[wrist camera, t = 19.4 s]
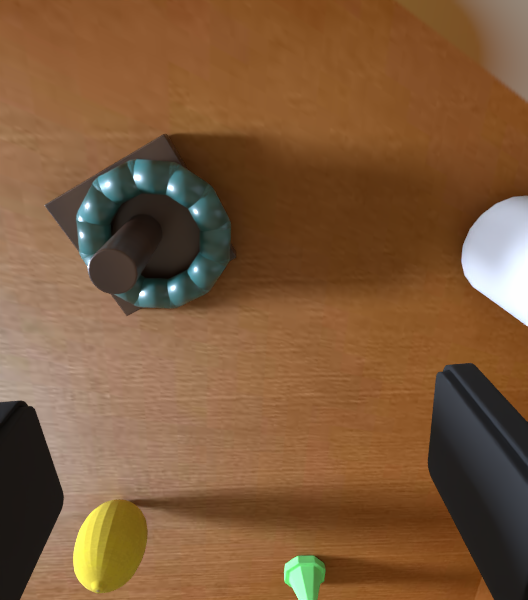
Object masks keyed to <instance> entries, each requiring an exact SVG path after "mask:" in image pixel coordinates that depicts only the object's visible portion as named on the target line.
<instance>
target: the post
mask: <svg viewBox="0 0 528 600" xmlns="http://www.w3.org/2000/svg"><path fill="white" fill-rule="evenodd" d="M132 159H143V160H157V161H171V162H176V163H178V164H180V165H181V166H183V167H184V168H186V169H187V167H186V166H185V164H184V162H183V160H182V159H181V157H180V155H179V154H178V152H177V150H176V149H175V147H174V145H173V143H172V142H171V140H170V138H169V137H168V135H167V134H163V135H161V136H160V137H158V138H156V139H155V140H153V141H151V142H150V143H148V144H146V145H144V146H143V147H141V148H139V149H138V150H136V151H134V152H133V153H131V154H129V155H128V156H126V157H124V158H123V159H121V160H119V161H118V162H116V163H114V164H113V165H111V166H109V167H108V168H106V169H104V170H102V171H101V172H99V173H97V174H96V175H94V176H92V177H91V178H89V179H87V180H86V181H84V182H82V183H81V184H79V185H77V186H76V187H74V188H72V189H71V190H69V191H67V192H65V193H64V194H62V195H60V196H59V197H57V198H55V199H54V200H52V201H50V202H49V203H47V204H45V207H46V208H47V209H48V211H49V212H50V213H51V215H52V216H53V217H54V219H55V220H56V221H57V223H58V224H59V225H60V227H61V228H62V230H63V231H64V232H65V234H66V235H67V236H68V238H69V239H70V240H71V242H72V243H73V244H74V246H75V247H76V248H77V250H78V251H79V243H78V232H77V221H76V215H77V212H78V210H79V208H80V206H81V204H82V202H83V200H84V198H85V196H86V195H87V193H88V191H89V189H90V187H91V185H92V183H93V181H94V180H95V179H96V178H97V177H99V176H101V175H103V174H104V173H106V172H108V171H110V170H112V169H114V168H116V167H118V166H119V165H121V164H123V163H125V162H127V161H129V160H132ZM187 170H188V169H187ZM111 235H112V237H111V238H110V239H109V240H108V241H107V242H106V243H105V244H104V245H103V246H102V247H101V248H100V249H99V250H98V251H97V252H96V253H95V254H94V255H93V256H92V257H91V259H90V261H89V264H88V273H89V277H90V279H91V281H92V282H93V284H94V285H95V286H96V287H97V288H98V289H100V290H101V291H103V292H106V293H109V294H111V295H112V297H113V298H114V299H115V301H116V302H117V303H118V305H119V306H120V307H121V309H122V310H123V311H124V313H125V314H126V315H127V316H128V315H130V314H132V313H134V312H135V311H137V310H139V309H141V308H143V307H137V306H134V305H133V304H131V303H129V302H127V301H125V300H123V299H122V298H120V297H118V296H116V295H114V294H122V293H125V292H127V291H129V290H130V289H131V288H132V287H133V286H134V285H135V283H136V281H137V280H138V278H139V276H140V275H142V276H144V277H146V278H163V279H169V278H171V277H173V276H175V275H177V274H179V273H182V272H184V271H186V270H188V269H189V267H190V265H191V264H192V262H193V261H194V259H195V258H196V256H197V255H198V253H199V240H200V229H199V228H198V226H197V224H196V222H195V220H194V219H193V217H192V215H191V213H190V211H189V210H188V208H186V207H184V206H183V205H181V204H180V203H178V202H177V201H175V200H173V199H172V198H170V197H169V196H167V195H157V194H140V195H138V196H136V197H134V198H132V199H130V200H128V201H127V202H125V203H123V204H121V206H120V208H119V209H118V211H117V213H116V215H115V217H114V218H113V220H112V222H111ZM234 258H236V251H235V249H234V247H233V246H232V244H231V242H230V259H229V261H231V260H232V259H234Z"/></svg>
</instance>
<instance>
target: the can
mask: <svg viewBox="0 0 528 600" xmlns="http://www.w3.org/2000/svg"><path fill="white" fill-rule="evenodd" d="M461 262H462V266H463V270H464V274H465V276H466V278H467V279H468V281H469V282H470V283H471V285H472V286H473V287H474V288H475V289H477V290H478V291H480V292H481V293H482V294H484V295H485V296H487V297H488V298H489V299H491V300H492V301H494V302H495V303H496V304H498V305H499V306H500V307H502V308H503V309H505V310H506V311H507V312H509V313H510V314H512V315H513V316H514V317H516V318H517V319H518V320H520V321H521V322H523V323H524V324H525V325H527V326H528V196H518V197H511V198H509V199H506V200H504V201H502V202H499V203H497V204H495V205H494V206H492V207H491V208H490V209H488V210H487V211H486V212H484V213H483V214H482V215H481V216H480V217H479V218H478V220H477V221H476V222H475V223H474V225H473V226H472V227H471V228H470V230H469V232H468V235H467V237H466V239H465V242H464V244H463V250H462V259H461Z"/></svg>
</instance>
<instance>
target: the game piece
mask: <svg viewBox="0 0 528 600" xmlns="http://www.w3.org/2000/svg"><path fill="white" fill-rule="evenodd" d="M325 571H326V570H325V565H324V563H323V562H322V561H320V560H319V559H318V558H316V557H315V556H297V557H295V558H294V559H292V560H291V561H289V562H288V563H286V564H285V571H284V579H285V583H286V584H288V585H289V586H291V587H292V588H293V590H294V591H295V593H296V595H297V597H298V599H299V600H317V598H318V593H319V587H320V584H321V583H322V582H324V578H325Z"/></svg>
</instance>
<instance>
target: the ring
mask: <svg viewBox="0 0 528 600" xmlns="http://www.w3.org/2000/svg"><path fill="white" fill-rule="evenodd" d="M140 194H157V195H167V196H169V197H170V198H172V199H173V200H175V201H177V202H178V203H180V204H181V205H183V206H184V207H186V208H188V210H189V211H190V213H191V215H192V217H193V219H194V220H195V222H196V224H197V226H198V228H199V229H200V240H199V253H198V255H197V256H196V258H195V259H194V261H193V262H192V264H191V265H190V267H189V269H188V270H186V271H184V272H182V273H179V274H177V275H175V276H173V277H171V278H169V279H163V278H146V277H144V276H142V275H140V276H139V278H138V280H137V281H136V283H135V285H134V286H133V287H132V288H131V289H130V290H129V291H127V292H125V293H122V294H114V295H116V296H118V297H120V298H122V299H123V300H125V301H127V302H129V303H131V304H133V305H134V306H137V307H150V308H177V307H179V306H182V305H184V304H186V303H188V302H190V301H192V300H194V299H196V298H198V297H200V296H202V295H205V294H206V293H208V292H209V291H210V290H211V288H212V287H213V285H214V284H215V282H216V281H217V279H218V278H219V277H220V275H221V274H222V272H223V271H224V269H225V268H226V266H227V264H228V263H229V259H230V241H231V222H230V220H229V217H228V215H227V214H226V212H225V210H224V208H223V206H222V204H221V202H220V200H219V198H218V196H217V194H216V192H215V190H214V189H213V187H212V186H211V185H210V184H208V183H207V182H205V181H204V180H202V179H201V178H199V177H198V176H196V175H195V174H193V173H192V172H190V171H189V170H187V169H186V168H184V167H183V166H181V165H180V164H178V163H176V162H171V161H157V160H143V159H132V160H129V161H127V162H125V163H123V164H121V165H119V166H118V167H116V168H114V169H112V170H110V171H108V172H106V173H104V174H103V175H101V176H99V177H97V178H96V179H95V180H94V181H93V183H92V185H91V187H90V189H89V191H88V193H87V195H86V196H85V198H84V200H83V202H82V204H81V206H80V208H79V210H78V212H77V215H76V221H77V232H78V243H79V253H80V256H81V258H82V259H83V261H84V262H85V263H86V265H87V266H88V264H89V261H90V259H91V257H92V256H93V255H94V254H95V253H96V252H97V251H98V250H99V249H100V248H101V247H102V246H103V245H104V244H105V243H106V242H107V241H108V240H109V239H110V238H111V237H112V235H111V222H112V220H113V218H114V217H115V215H116V213H117V211H118V209H119V208H120V206H121V204H123V203H125V202H127V201H128V200H130V199H132V198H134V197H136V196H138V195H140Z"/></svg>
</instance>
